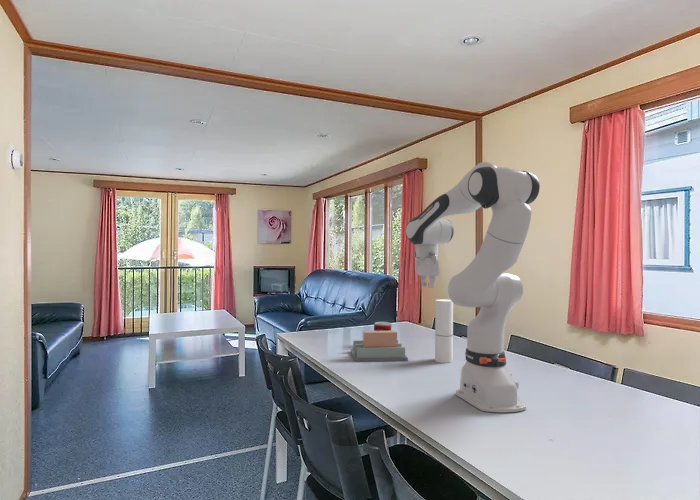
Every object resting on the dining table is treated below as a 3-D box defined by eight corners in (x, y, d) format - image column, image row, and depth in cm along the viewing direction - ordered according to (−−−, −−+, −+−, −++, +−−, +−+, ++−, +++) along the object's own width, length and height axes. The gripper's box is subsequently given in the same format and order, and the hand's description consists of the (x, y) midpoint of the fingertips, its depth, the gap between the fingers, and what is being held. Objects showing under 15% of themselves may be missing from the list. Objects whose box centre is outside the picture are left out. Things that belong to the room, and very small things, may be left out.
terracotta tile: (397, 356, 179) (397, 332, 179) (363, 356, 178) (364, 332, 177) (395, 353, 183) (395, 330, 183) (362, 354, 182) (362, 330, 181)
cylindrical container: (451, 358, 181) (451, 299, 180) (453, 363, 174) (454, 301, 173) (434, 358, 181) (434, 299, 181) (435, 362, 174) (436, 301, 174)
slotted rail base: (407, 360, 176) (408, 348, 176) (354, 361, 174) (355, 349, 174) (399, 350, 193) (399, 339, 193) (350, 351, 191) (350, 340, 191)
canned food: (371, 345, 204) (371, 322, 204) (385, 343, 207) (385, 321, 207) (378, 348, 197) (379, 325, 197) (393, 347, 200) (393, 323, 200)
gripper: (443, 252, 163) (443, 288, 163) (427, 253, 183) (427, 285, 183) (427, 252, 162) (427, 288, 162) (413, 253, 182) (413, 285, 182)
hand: (427, 287), depth 172 cm, fingers open, 8 cm apart
